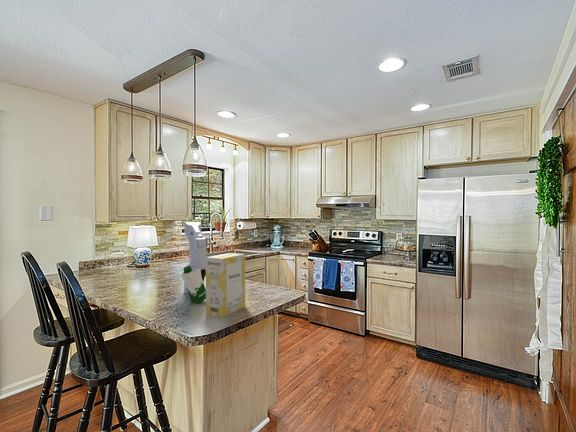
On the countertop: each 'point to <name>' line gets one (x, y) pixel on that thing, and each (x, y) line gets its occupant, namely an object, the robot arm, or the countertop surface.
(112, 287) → the countertop surface
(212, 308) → the pasta box
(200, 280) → the soya milk
